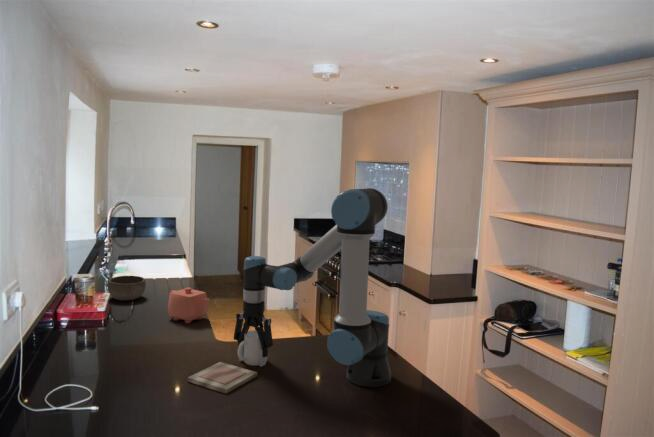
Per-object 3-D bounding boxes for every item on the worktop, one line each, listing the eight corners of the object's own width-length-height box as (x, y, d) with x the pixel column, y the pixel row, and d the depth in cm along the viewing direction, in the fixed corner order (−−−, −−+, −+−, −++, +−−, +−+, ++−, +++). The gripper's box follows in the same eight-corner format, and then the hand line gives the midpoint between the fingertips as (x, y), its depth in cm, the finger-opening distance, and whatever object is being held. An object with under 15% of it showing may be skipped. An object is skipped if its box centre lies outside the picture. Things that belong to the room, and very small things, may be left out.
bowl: (138, 304, 256) (138, 283, 255) (101, 302, 256) (101, 282, 255) (150, 295, 273) (150, 276, 272) (116, 293, 274) (116, 274, 272)
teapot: (217, 320, 236) (217, 289, 235) (197, 327, 225) (197, 295, 224) (180, 311, 247) (181, 282, 245) (160, 318, 236) (160, 287, 234)
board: (257, 376, 178) (257, 371, 177) (226, 393, 164) (226, 388, 163) (220, 365, 185) (220, 361, 185) (187, 381, 171) (187, 376, 171)
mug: (244, 370, 181) (244, 341, 180) (230, 363, 187) (231, 335, 186) (271, 362, 190) (272, 334, 189) (257, 355, 196) (258, 328, 195)
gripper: (284, 302, 184) (282, 365, 187) (236, 293, 194) (235, 353, 197) (272, 307, 178) (270, 372, 180) (223, 297, 188) (222, 359, 190)
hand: (252, 362), depth 188 cm, fingers closed on mug, 8 cm apart
